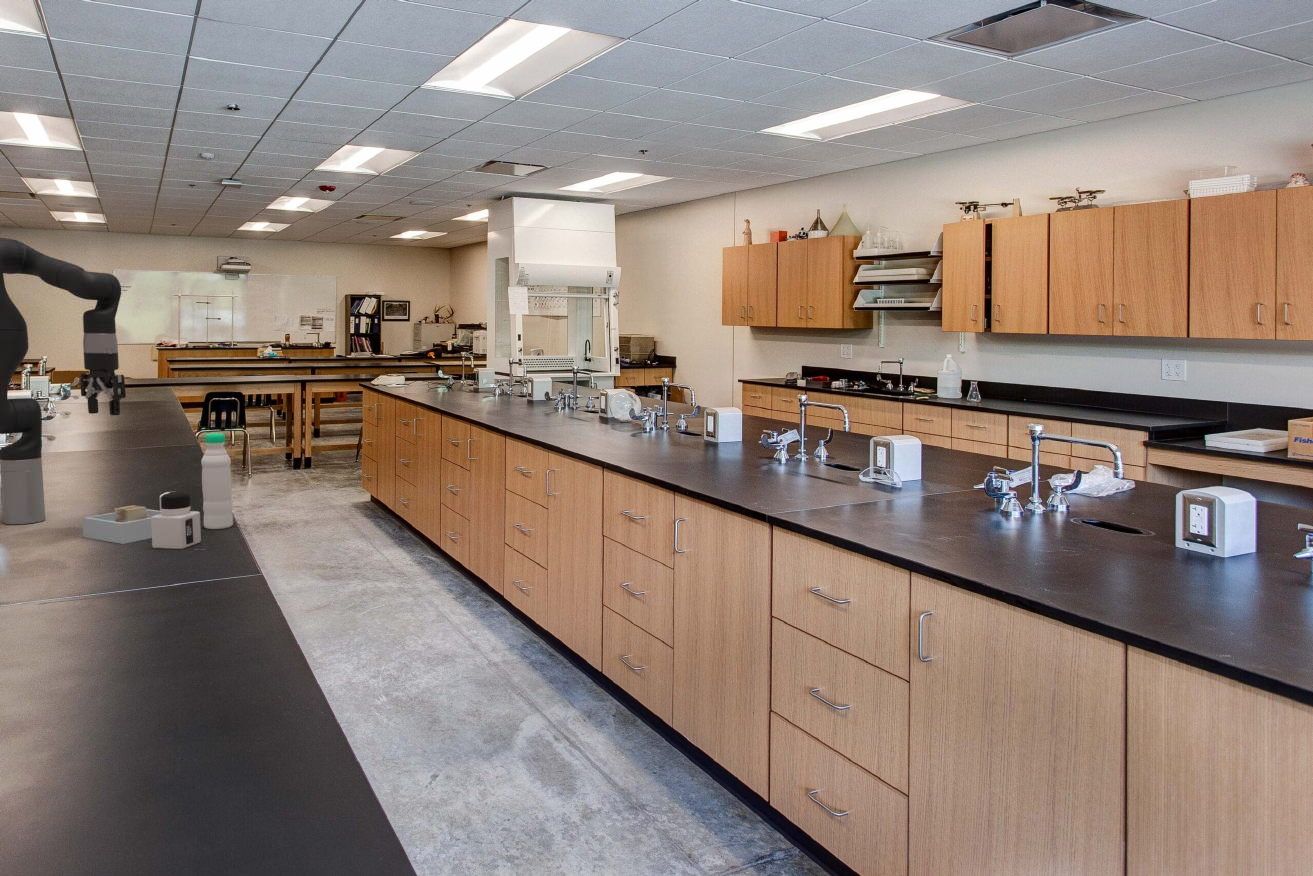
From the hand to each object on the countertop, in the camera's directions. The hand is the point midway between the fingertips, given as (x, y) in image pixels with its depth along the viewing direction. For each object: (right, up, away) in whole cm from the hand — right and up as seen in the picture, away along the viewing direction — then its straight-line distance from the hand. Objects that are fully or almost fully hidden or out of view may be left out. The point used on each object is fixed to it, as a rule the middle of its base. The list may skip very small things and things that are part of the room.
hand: (104, 414), depth 230 cm
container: (+26, -32, -13) cm, 44 cm away
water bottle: (+26, -30, +8) cm, 40 cm away
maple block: (+9, -30, -3) cm, 31 cm away
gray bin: (+9, -31, -3) cm, 32 cm away
